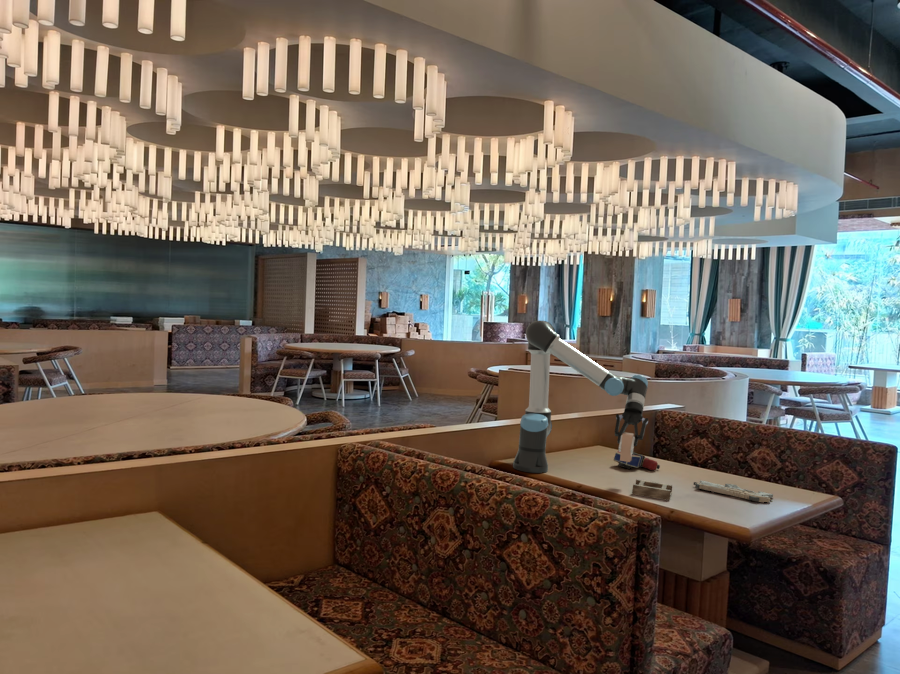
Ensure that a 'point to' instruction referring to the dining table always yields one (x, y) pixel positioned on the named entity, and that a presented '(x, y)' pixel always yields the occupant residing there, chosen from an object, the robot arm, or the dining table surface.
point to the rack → (652, 489)
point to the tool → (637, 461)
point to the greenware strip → (626, 447)
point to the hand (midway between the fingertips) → (625, 450)
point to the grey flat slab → (734, 491)
